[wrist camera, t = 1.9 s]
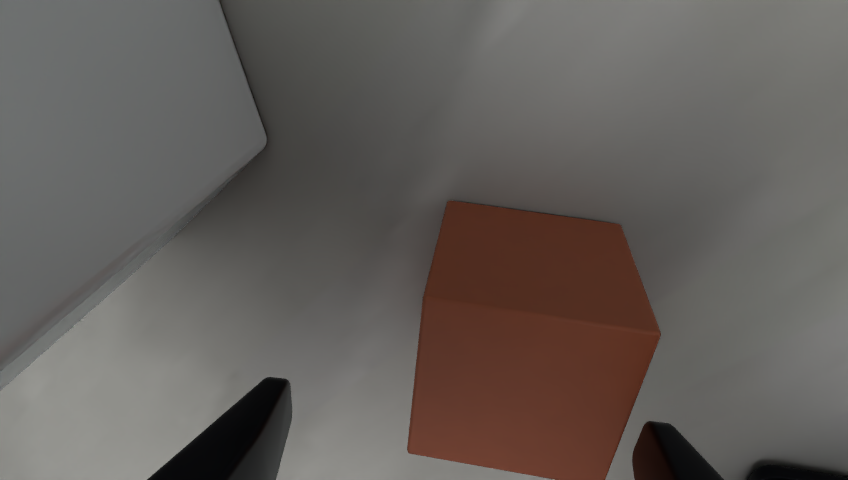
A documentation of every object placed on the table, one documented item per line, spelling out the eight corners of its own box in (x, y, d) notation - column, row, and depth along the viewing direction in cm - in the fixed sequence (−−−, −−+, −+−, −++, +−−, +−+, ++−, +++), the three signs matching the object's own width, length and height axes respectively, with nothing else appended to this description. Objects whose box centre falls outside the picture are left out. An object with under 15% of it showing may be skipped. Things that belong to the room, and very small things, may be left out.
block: (621, 223, 13) (662, 334, 9) (581, 356, 15) (602, 489, 11) (447, 198, 13) (422, 296, 10) (431, 332, 15) (406, 454, 12)
